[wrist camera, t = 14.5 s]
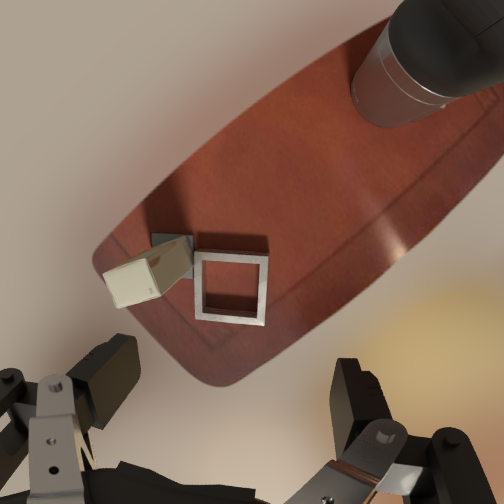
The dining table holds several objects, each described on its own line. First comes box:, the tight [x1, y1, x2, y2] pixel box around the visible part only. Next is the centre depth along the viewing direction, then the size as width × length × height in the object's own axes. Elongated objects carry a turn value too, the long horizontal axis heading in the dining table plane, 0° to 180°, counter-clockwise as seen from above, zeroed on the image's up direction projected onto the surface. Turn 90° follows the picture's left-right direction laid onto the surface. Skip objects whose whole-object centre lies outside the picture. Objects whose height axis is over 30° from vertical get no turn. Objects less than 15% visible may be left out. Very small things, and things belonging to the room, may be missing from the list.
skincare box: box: [103, 236, 194, 308], centre depth 36 cm, size 6×4×12 cm
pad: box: [152, 233, 194, 279], centre depth 42 cm, size 6×6×1 cm
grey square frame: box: [194, 248, 269, 326], centre depth 42 cm, size 10×10×2 cm
